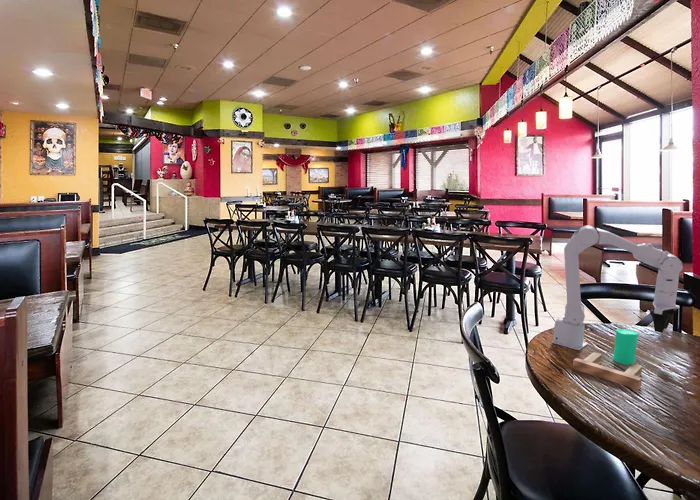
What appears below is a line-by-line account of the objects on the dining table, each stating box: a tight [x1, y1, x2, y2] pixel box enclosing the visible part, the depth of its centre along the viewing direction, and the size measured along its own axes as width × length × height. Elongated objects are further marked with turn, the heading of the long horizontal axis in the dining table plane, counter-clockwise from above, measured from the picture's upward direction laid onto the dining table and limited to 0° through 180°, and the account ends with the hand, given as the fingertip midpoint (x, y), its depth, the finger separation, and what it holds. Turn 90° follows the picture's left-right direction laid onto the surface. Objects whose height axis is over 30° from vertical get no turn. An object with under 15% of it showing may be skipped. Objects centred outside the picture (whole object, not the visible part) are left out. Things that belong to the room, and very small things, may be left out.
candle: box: [612, 326, 639, 366], centre depth 136 cm, size 6×6×12 cm
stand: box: [572, 351, 643, 391], centre depth 129 cm, size 18×11×3 cm, turn 41°
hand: (660, 329), depth 137 cm, fingers open, 4 cm apart
